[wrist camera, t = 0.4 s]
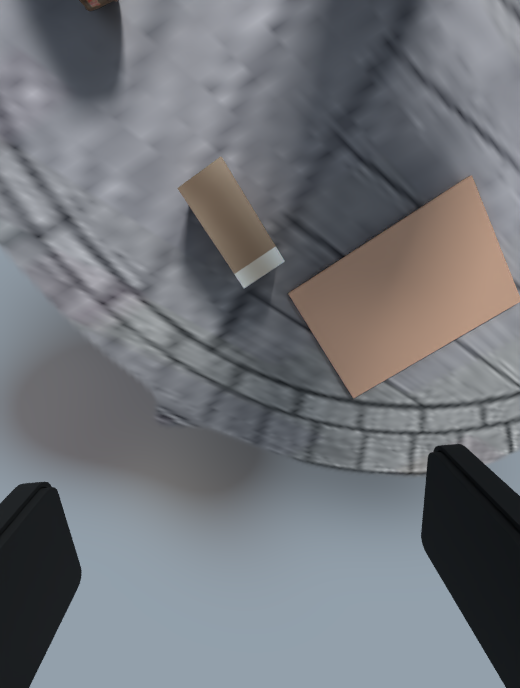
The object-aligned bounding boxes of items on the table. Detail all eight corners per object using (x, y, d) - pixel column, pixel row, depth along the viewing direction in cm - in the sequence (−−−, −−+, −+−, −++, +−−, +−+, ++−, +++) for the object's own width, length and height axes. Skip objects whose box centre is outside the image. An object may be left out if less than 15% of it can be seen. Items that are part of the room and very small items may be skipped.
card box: (225, 172, 30) (221, 156, 24) (277, 258, 32) (284, 261, 27) (190, 198, 30) (177, 188, 25) (244, 280, 33) (243, 288, 27)
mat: (468, 176, 31) (472, 175, 30) (517, 300, 35) (521, 300, 34) (287, 293, 33) (288, 294, 33) (352, 396, 37) (353, 398, 37)
